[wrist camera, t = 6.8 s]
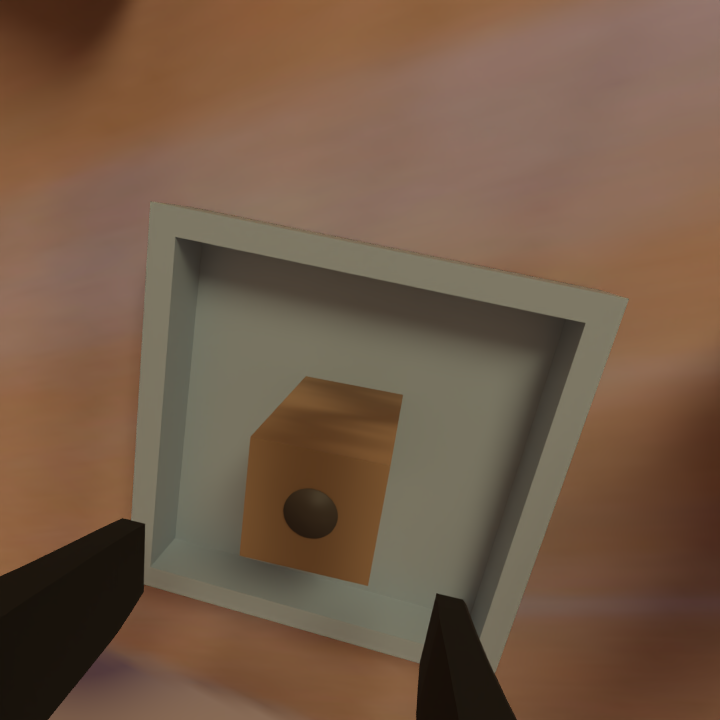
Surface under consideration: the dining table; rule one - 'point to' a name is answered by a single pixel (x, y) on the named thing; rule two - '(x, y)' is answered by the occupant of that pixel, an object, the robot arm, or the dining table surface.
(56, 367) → the dining table surface
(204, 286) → the tray
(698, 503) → the dining table surface
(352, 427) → the walnut block
